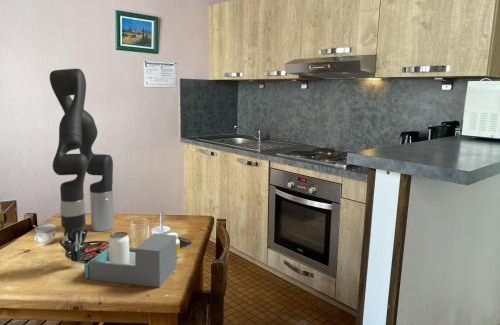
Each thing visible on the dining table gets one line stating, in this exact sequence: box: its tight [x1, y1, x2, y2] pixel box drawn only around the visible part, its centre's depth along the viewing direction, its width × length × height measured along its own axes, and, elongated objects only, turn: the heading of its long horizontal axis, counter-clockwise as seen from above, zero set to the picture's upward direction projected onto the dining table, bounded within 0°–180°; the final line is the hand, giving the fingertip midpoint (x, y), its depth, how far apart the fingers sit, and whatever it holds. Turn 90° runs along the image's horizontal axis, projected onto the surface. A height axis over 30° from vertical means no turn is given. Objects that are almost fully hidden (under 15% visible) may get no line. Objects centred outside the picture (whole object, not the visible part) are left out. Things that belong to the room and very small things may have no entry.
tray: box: [84, 247, 136, 279], centre depth 132 cm, size 14×17×4 cm
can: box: [108, 231, 130, 265], centre depth 131 cm, size 6×6×12 cm
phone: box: [177, 236, 192, 250], centre depth 160 cm, size 8×1×15 cm
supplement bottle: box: [166, 232, 181, 262], centre depth 143 cm, size 5×5×10 cm
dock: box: [88, 233, 177, 288], centre depth 130 cm, size 14×24×12 cm, turn 80°
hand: (75, 260), depth 135 cm, fingers closed
